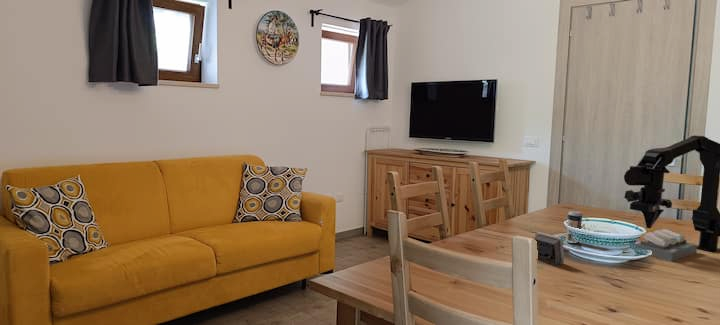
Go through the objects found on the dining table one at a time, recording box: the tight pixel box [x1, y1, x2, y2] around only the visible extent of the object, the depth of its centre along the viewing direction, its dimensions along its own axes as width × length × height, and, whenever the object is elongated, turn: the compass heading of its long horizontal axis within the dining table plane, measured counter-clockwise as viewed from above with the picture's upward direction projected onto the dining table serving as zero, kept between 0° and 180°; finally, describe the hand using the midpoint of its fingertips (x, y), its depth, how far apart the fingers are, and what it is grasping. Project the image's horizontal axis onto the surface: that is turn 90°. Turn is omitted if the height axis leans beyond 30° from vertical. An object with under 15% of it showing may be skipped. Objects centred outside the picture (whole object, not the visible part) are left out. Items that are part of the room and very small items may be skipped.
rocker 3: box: [659, 228, 686, 242], centre depth 177 cm, size 4×7×2 cm, turn 35°
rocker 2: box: [652, 230, 678, 245], centre depth 174 cm, size 4×7×2 cm, turn 35°
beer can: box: [565, 210, 583, 242], centre depth 181 cm, size 5×5×12 cm
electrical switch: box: [532, 231, 565, 266], centre depth 158 cm, size 9×5×9 cm, turn 38°
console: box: [634, 239, 698, 262], centre depth 174 cm, size 20×12×4 cm, turn 125°
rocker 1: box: [642, 231, 670, 247], centre depth 171 cm, size 4×7×2 cm, turn 35°
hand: (648, 228), depth 173 cm, fingers closed
